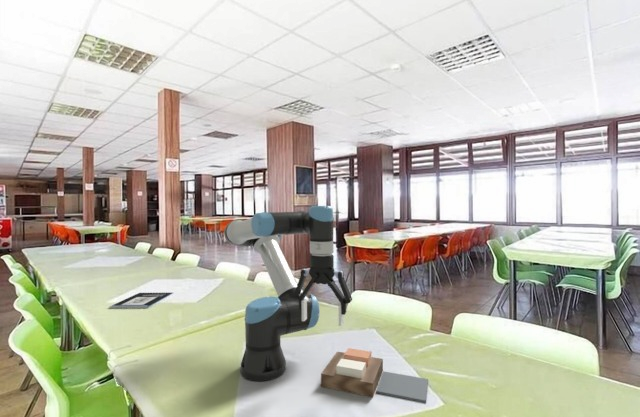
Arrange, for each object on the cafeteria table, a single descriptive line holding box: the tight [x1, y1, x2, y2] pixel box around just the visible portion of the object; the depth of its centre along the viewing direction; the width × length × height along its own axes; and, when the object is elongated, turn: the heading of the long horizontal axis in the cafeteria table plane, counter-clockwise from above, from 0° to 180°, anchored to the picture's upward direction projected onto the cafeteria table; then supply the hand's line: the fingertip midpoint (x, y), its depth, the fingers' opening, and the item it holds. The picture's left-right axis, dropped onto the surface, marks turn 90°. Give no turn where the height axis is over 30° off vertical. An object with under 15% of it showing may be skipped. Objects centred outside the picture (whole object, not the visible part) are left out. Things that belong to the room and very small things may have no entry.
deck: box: [320, 351, 384, 398], centre depth 105 cm, size 16×16×4 cm
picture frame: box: [108, 292, 174, 310], centre depth 193 cm, size 22×30×2 cm
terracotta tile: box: [344, 347, 372, 366], centre depth 109 cm, size 8×5×2 cm, turn 69°
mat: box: [375, 370, 429, 403], centre depth 100 cm, size 14×12×1 cm
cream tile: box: [337, 359, 366, 379], centre depth 101 cm, size 8×5×2 cm, turn 69°
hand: (322, 322), depth 105 cm, fingers open, 12 cm apart
